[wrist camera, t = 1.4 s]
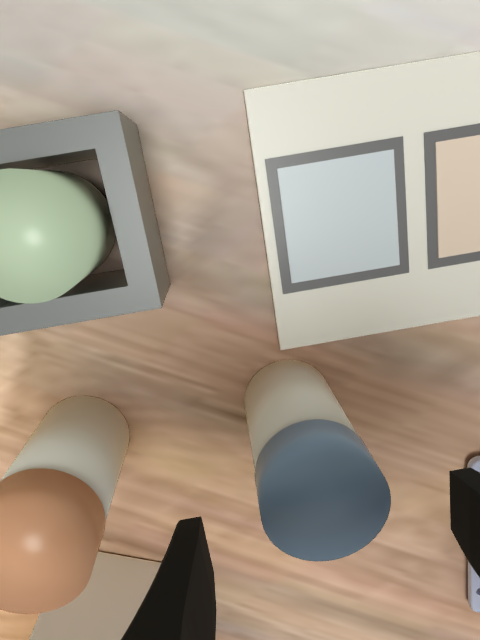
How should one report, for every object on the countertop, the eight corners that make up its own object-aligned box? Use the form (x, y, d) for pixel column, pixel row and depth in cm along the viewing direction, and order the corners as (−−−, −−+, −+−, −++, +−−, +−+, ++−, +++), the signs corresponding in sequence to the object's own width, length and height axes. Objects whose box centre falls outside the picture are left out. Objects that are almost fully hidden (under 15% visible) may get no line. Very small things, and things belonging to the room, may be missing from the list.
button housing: (170, 284, 18) (161, 307, 15) (21, 309, 18) (-21, 339, 15) (136, 124, 16) (118, 110, 13) (-29, 151, 16) (-91, 144, 13)
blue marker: (334, 429, 21) (394, 548, 14) (250, 444, 21) (270, 571, 14) (325, 351, 20) (386, 440, 13) (236, 367, 19) (251, 464, 13)
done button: (126, 268, 16) (104, 291, 13) (25, 285, 16) (-23, 313, 13) (100, 162, 15) (69, 157, 12) (-8, 180, 15) (-70, 180, 12)
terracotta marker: (139, 464, 21) (106, 600, 14) (54, 479, 20) (-20, 624, 14) (119, 387, 19) (72, 496, 13) (28, 403, 19) (-67, 521, 13)
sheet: (553, 300, 19) (560, 302, 19) (279, 347, 19) (281, 351, 19) (567, 38, 16) (576, 34, 16) (243, 91, 16) (244, 89, 16)
